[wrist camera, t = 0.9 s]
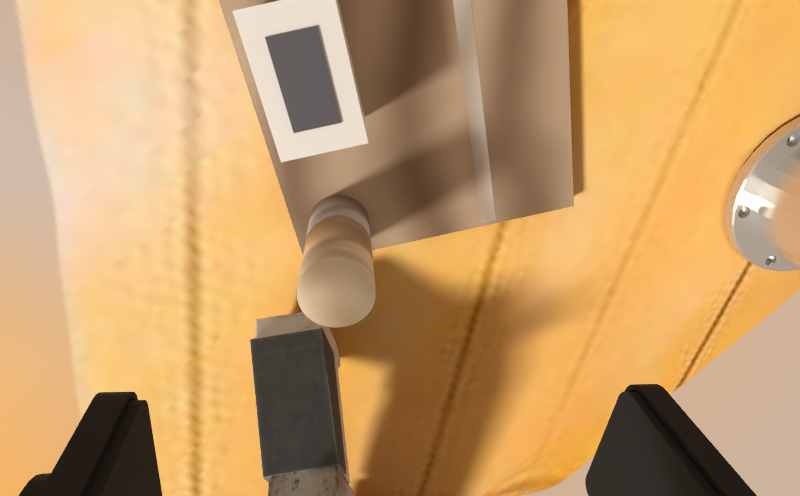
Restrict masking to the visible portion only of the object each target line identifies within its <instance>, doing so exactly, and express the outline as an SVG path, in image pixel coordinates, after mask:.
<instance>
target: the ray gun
mask: <svg viewBox="0 0 800 496" xmlns="http://www.w3.org/2000/svg"><path fill="white" fill-rule="evenodd" d="M250 342H251V352H252V363H253V373H254V384H255V394H256V405H257V415H258V426H259V436H260V447H261V457H262V468H263V477H264V479H265V480H267V481H268V482H269V489H268V496H356V495H355V494H354V492H353V490H352V489H351V487H350V485H349V483H350V480H349V471H348V461H347V452H346V443H345V433H344V424H343V415H342V405H341V396H340V386H339V377H338V367H340V358H339V351H338V347H337V345H336V342H335V339H334V337H333V334H332V332H331V330H330V328H329V327H326V326H322V325H320V324H317V323H315V322H313V321H312V320H310V319H309V318H308V317H307V316H306V315H305V314H304V313H303V312H299V313H293V314H287V315H280V316H274V317H268V318H262V319H257V320H256V335H255V339H251V340H250Z"/></svg>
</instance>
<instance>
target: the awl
mask: <svg viewBox="0 0 800 496" xmlns="http://www.w3.org/2000/svg"><path fill="white" fill-rule="evenodd" d="M375 299H376V288H375V277H374V267H373V257H372V246H371V236H370V225H369V217H368V214H367V212H366V210H365V208H364V207H363V206H362V205H361V204H360V203H359V202H358V201H356V200H355V199H353V198H351V197H348V196H342V195H335V196H330V197H327V198H325V199H323V200H321V201H320V202H319V203H317V204H316V205H315V207H314V208H313V210H312V212H311V214H310V218H309V224H308V229H307V235H306V241H305V247H304V253H303V259H302V264H301V270H300V276H299V282H298V288H297V301H298V304H299V306H300V308H301V310H302V312H303V313H304V314H305V315H306V316H307V317H308V318H309V319H310V320H312V321H313V322H315V323H317V324H320V325H322V326H326V327H333V328H339V327H347V326H350V325H353V324H355V323H357V322H359V321H361V320H362V319H364V318H365V317H366V316H367V315H368V314H369V312H370V311H371V310H372V308H373V306H374V303H375Z"/></svg>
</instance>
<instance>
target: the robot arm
mask: <svg viewBox="0 0 800 496" xmlns="http://www.w3.org/2000/svg"><path fill="white" fill-rule="evenodd" d="M725 229H726V233H727V236H728V240H729V241H730V243H731V245H732V246H733V248H734V250H735V251H737V252H738V253H739V254H740V255H741V256H742V257H743V258H745V259H746V260H748V261H749V262H751V263H753V264H754V265H756V266H758V267H761V268H763V269H766V270H773V271H795V270H799V269H800V117H798V118H796V119H794V120H793V121H791V122H789V123H787V124H786V125H784V126H782V127H781V128H780V129H779V130H777V131H776V132H775V133H773V134H772V135H771V136H770V137H768V138H767V139H766V140H765V141H764V142H763V143H762V144H761V145H760V146H759V147H758V148H757V149H756V150H755V151H754V152H753V153H752V155H751V156H750V157H749V159H748V160H747V161H746V163H745V164H744V165H743V167H742V168H741V170H740V171H739V173H738V175H737V177H736V179H735V180H734V182H733V184H732V187H731V190H730V193H729V195H728V198H727V203H726V208H725ZM586 489H587V493H588V495H589V496H756V494H755V493H754V492H753V491H752V490H751V489H750V487H749V486H748V485H747V484H746V483H745V482H744V481H743V479H742V478H741V477H740V476H739V475H738V474H737V472H736V471H735V470H734V469H733V468H732V467H731V465H730V464H729V463H728V462H727V461H726V460H725V458H723V456H722V455H721V454H720V453H719V451H718V450H717V449H716V448H715V447H714V446H713V445H712V443H711V442H710V441H709V440H708V439H707V438H706V436H705V435H704V434H703V433H702V432H701V431H700V429H699V428H698V427H697V426H696V425H695V424H694V423H693V421H692V420H691V419H690V418H689V417H688V416H687V414H686V413H685V412H684V411H683V410H682V409H681V407H680V406H679V405H678V404H677V403H676V402H675V400H674V399H673V398H672V397H671V396H670V395H669V393H668V392H667V391H666V390H665V389H664V388H663V387H662V386H660V385H657V384H640V385H630V386H628V387H627V388H626V390H625V392H622V393H621V394H620V395H619V397H618V400H617V402H616V405H615V407H614V410H613V412H612V414H611V417H610V419H609V422H608V424H607V427H606V429H605V432H604V434H603V437H602V439H601V442H600V444H599V446H598V449H597V451H596V454H595V456H594V459H593V461H592V464H591V466H590V469H589V471H588V473H587V476H586ZM19 496H162V491H161V485H160V478H159V472H158V466H157V459H156V453H155V447H154V440H153V434H152V427H151V421H150V415H149V408H148V403H147V401H146V400H138V399H137V395H136V394H135V392H102V393H98V394H96V396H95V397H94V398H93V400H92V402H91V403H90V405H89V407H88V409H87V411H86V412H85V414H84V416H83V418H82V419H81V421H80V423H79V425H78V427H77V428H76V430H75V432H74V434H73V436H72V437H71V439H70V441H69V443H68V444H67V446H66V448H65V450H64V451H63V453H62V455H61V457H60V459H59V461H58V462H57V464H56V466H55V468H54V469H53V471H52V473H49V474H39V475H36V476H35V477H33V478H32V479H31V480H30V481H29V482H28V483H27V485H26V486H25V487H24V489H23V490H22V492H21V493H20V495H19Z"/></svg>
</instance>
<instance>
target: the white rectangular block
mask: <svg viewBox="0 0 800 496" xmlns="http://www.w3.org/2000/svg"><path fill="white" fill-rule="evenodd" d="M233 15H234V18H235V21H236V24H237V27H238V30H239V33H240V36H241V39H242V43H243V46H244V49H245V52H246V55H247V58H248V61H249V64H250V67H251V71H252V74H253V77H254V80H255V83H256V86H257V89H258V92H259V95H260V99H261V102H262V105H263V108H264V111H265V114H266V117H267V120H268V124H269V127H270V130H271V133H272V136H273V139H274V142H275V145H276V148H277V152H278V155H279V158H280V161H281V162H285V161H290V160H294V159H299V158H304V157H308V156H313V155H317V154H322V153H326V152H331V151H335V150H340V149H344V148H349V147H353V146H358V145H363V144H367V143H368V136H367V129H366V122H365V116H364V111H363V107H362V103H361V98H360V94H359V89H358V85H357V81H356V76H355V72H354V67H353V63H352V59H351V54H350V50H349V46H348V41H347V37H346V32H345V28H344V24H343V19H342V15H341V10H340V6H339V2H338V0H279V1H274V2H270V3H265V4H261V5H256V6H252V7H247V8H243V9H238V10H234V11H233Z"/></svg>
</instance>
